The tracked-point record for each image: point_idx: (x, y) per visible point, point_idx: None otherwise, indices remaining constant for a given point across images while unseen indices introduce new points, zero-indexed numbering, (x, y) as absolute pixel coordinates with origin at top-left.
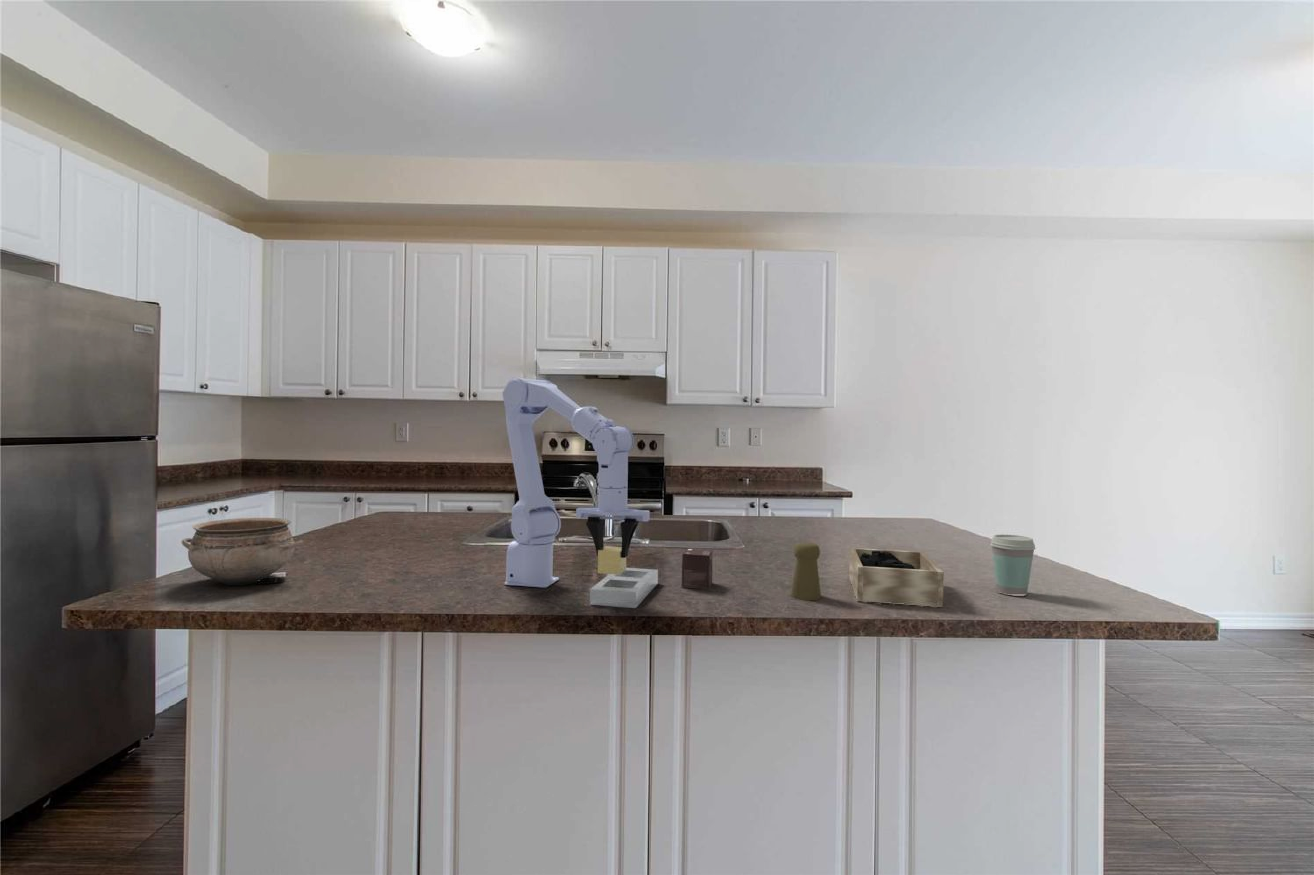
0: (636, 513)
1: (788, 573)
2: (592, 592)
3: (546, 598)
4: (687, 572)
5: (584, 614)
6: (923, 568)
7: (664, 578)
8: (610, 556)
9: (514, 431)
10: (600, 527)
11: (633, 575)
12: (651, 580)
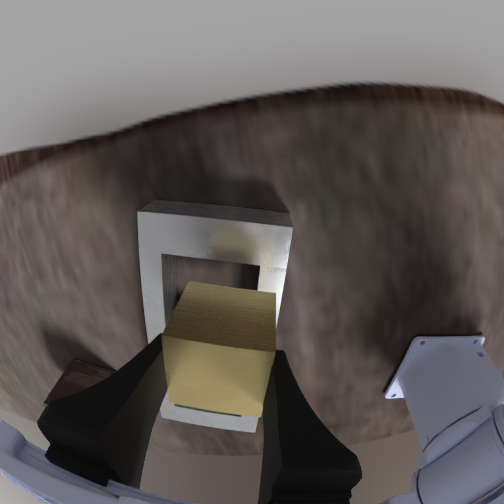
0: (18, 470)
1: (36, 413)
2: (284, 223)
3: (412, 257)
4: None
5: (286, 112)
6: None
7: (170, 419)
8: (214, 326)
9: None
10: (269, 468)
11: None
12: None
